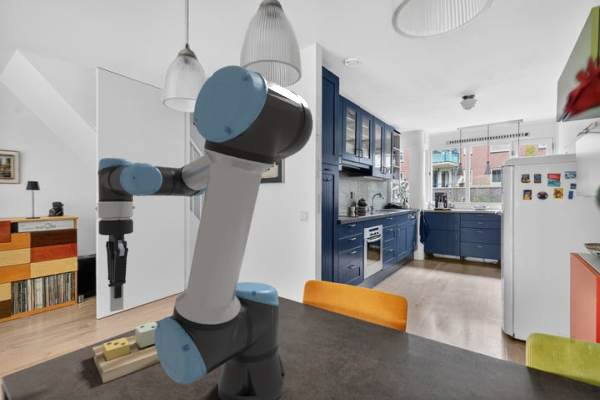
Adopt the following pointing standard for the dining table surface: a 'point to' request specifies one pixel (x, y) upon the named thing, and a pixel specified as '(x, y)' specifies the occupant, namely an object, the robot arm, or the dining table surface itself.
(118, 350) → the tile three
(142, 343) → the tile two
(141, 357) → the board
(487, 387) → the dining table surface
